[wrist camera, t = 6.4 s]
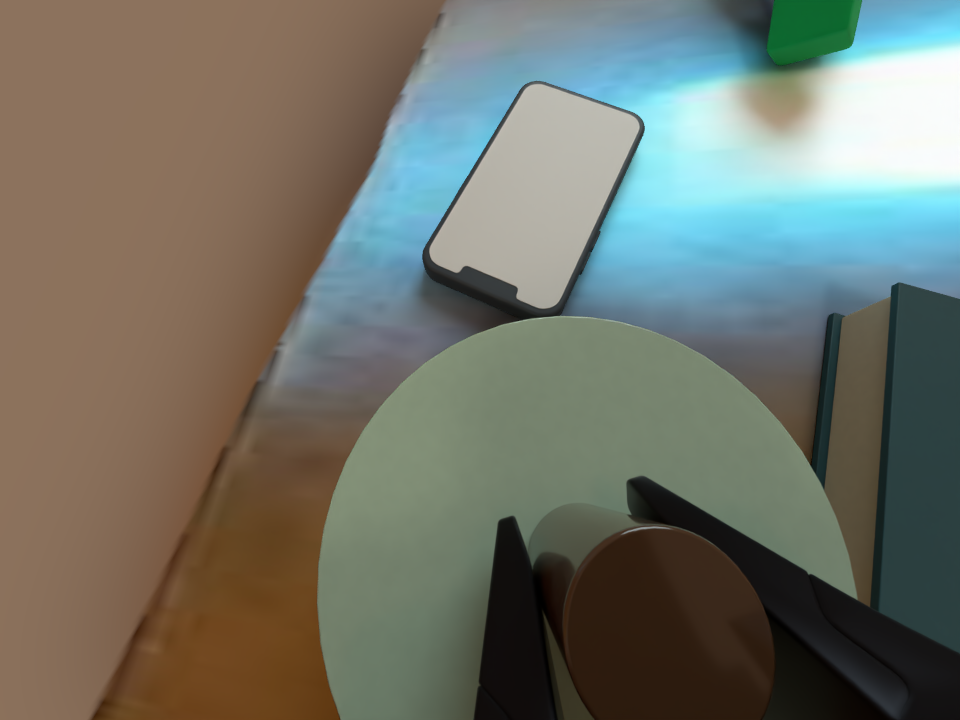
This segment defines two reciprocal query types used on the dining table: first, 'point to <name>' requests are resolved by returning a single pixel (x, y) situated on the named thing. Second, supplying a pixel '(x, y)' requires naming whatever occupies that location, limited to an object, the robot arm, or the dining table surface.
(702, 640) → the cover
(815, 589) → the robot arm
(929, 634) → the book
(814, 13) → the building blocks
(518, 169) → the smartphone
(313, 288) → the dining table surface
